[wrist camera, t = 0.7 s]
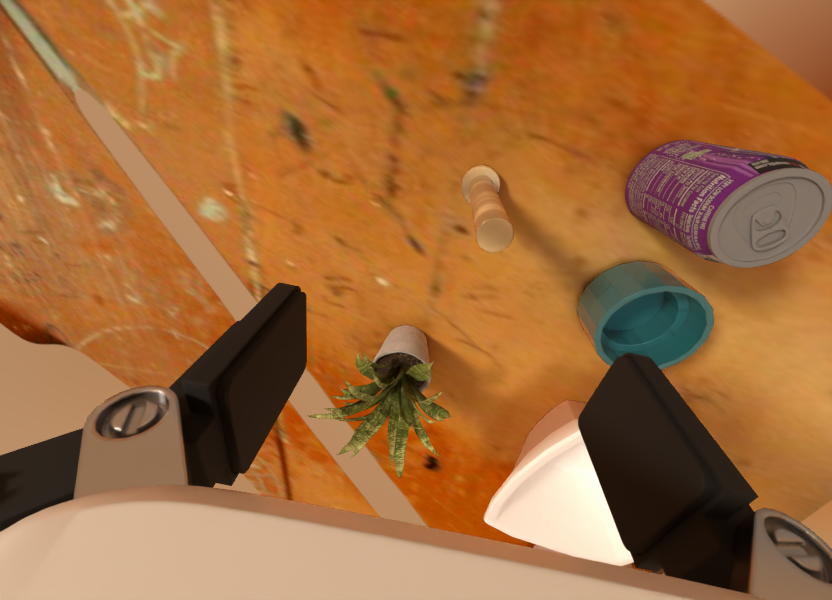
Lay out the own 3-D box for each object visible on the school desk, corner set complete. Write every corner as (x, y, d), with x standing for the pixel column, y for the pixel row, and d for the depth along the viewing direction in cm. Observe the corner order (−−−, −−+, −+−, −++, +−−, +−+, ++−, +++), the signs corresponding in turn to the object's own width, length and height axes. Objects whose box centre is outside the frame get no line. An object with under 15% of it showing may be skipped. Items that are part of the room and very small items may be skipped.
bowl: (549, 349, 41) (575, 418, 32) (712, 413, 44) (778, 494, 35) (465, 452, 53) (467, 523, 44) (597, 498, 56) (624, 574, 47)
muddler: (464, 162, 31) (469, 202, 19) (502, 166, 31) (532, 208, 19) (459, 201, 33) (460, 260, 21) (494, 204, 33) (518, 266, 20)
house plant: (386, 263, 38) (344, 357, 24) (486, 319, 40) (501, 435, 26) (338, 344, 45) (284, 454, 31) (425, 388, 47) (412, 508, 33)
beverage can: (715, 195, 30) (846, 241, 20) (633, 232, 33) (713, 291, 23) (699, 121, 28) (842, 132, 17) (611, 168, 30) (690, 202, 20)
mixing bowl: (593, 254, 34) (617, 280, 29) (696, 264, 34) (738, 293, 29) (564, 332, 40) (579, 365, 35) (652, 342, 39) (681, 378, 34)
